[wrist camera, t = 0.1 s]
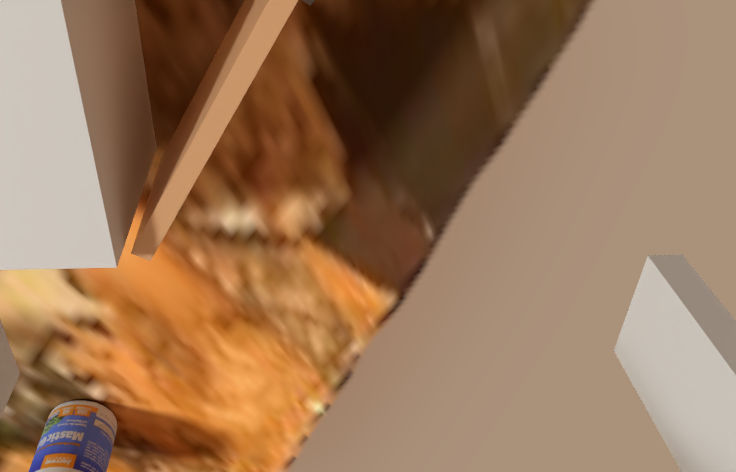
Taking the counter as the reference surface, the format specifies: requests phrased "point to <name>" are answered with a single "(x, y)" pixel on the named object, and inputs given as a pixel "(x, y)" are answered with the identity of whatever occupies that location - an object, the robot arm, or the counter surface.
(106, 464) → the pill bottle
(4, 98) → the block
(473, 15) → the counter surface
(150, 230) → the side door
